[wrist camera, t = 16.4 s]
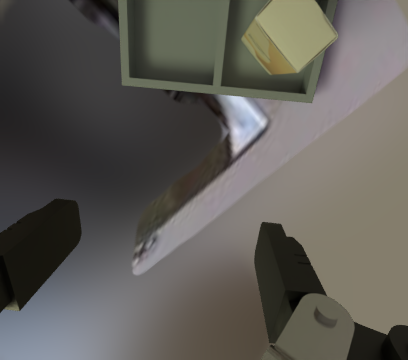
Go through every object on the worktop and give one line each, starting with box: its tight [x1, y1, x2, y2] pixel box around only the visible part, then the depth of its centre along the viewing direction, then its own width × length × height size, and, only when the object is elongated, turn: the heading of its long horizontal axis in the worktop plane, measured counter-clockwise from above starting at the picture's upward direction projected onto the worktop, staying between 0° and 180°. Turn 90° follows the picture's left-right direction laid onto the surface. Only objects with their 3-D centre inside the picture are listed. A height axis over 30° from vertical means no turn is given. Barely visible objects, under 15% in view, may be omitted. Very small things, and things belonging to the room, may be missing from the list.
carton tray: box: [118, 0, 338, 103], centre depth 30 cm, size 25×13×4 cm, turn 85°
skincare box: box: [241, 0, 338, 75], centre depth 25 cm, size 6×4×12 cm
